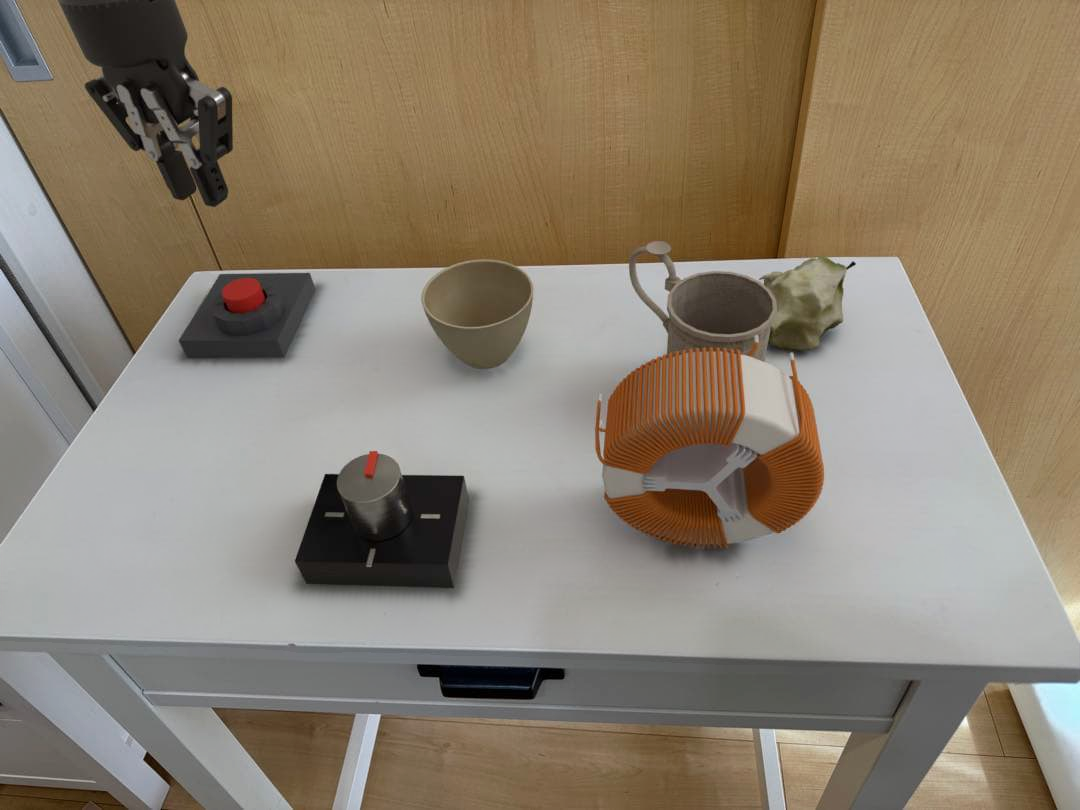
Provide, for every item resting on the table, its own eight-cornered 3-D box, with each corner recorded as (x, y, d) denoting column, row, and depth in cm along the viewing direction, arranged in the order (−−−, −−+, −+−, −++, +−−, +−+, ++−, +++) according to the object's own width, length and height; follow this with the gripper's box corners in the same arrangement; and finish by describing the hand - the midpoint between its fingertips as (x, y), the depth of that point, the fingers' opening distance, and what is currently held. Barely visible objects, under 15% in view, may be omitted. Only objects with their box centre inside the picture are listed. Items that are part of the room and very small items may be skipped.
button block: (284, 357, 74) (271, 325, 71) (187, 357, 75) (170, 326, 72) (315, 289, 82) (305, 258, 79) (227, 290, 83) (213, 259, 80)
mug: (791, 387, 67) (816, 273, 58) (722, 449, 62) (739, 336, 54) (662, 318, 74) (668, 210, 66) (593, 369, 70) (590, 259, 62)
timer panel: (305, 587, 56) (292, 563, 53) (335, 494, 62) (325, 469, 59) (453, 592, 54) (446, 567, 52) (469, 496, 61) (464, 471, 58)
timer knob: (407, 541, 54) (393, 499, 51) (346, 541, 55) (329, 500, 51) (416, 492, 57) (404, 449, 54) (359, 492, 58) (343, 450, 54)
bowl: (426, 388, 70) (412, 327, 65) (443, 319, 77) (431, 260, 72) (535, 387, 69) (529, 326, 64) (541, 318, 76) (536, 257, 71)
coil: (802, 559, 54) (848, 414, 44) (593, 545, 56) (588, 403, 46) (792, 483, 59) (831, 337, 49) (599, 473, 61) (597, 330, 51)
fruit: (823, 307, 76) (858, 244, 70) (831, 376, 70) (870, 314, 64) (732, 289, 76) (759, 225, 70) (733, 357, 70) (762, 293, 64)
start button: (258, 314, 73) (252, 299, 72) (222, 314, 74) (215, 300, 73) (270, 291, 76) (264, 277, 75) (235, 292, 76) (229, 277, 75)
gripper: (0, -7, 55) (111, 207, 67) (144, 8, 50) (236, 235, 62) (82, -38, 59) (172, 167, 72) (221, -28, 55) (292, 190, 67)
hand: (201, 197), depth 67 cm, fingers open, 3 cm apart
